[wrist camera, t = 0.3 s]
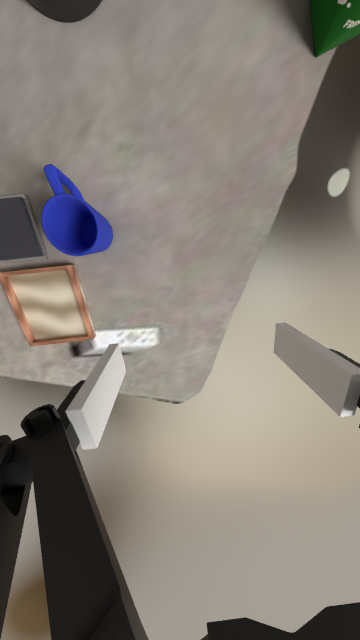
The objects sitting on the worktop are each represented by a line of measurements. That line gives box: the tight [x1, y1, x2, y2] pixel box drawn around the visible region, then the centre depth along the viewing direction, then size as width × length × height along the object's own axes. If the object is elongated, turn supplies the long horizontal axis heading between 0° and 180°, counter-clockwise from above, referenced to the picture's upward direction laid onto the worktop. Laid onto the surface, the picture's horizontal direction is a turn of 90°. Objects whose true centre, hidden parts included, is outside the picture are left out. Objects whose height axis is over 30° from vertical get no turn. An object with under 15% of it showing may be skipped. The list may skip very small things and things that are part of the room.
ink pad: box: [0, 194, 49, 263], centre depth 34 cm, size 11×9×1 cm
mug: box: [41, 164, 113, 256], centre depth 30 cm, size 8×12×10 cm
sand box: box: [0, 264, 96, 346], centre depth 39 cm, size 17×15×2 cm
